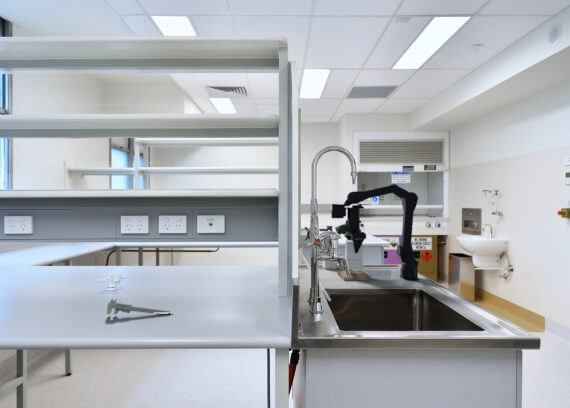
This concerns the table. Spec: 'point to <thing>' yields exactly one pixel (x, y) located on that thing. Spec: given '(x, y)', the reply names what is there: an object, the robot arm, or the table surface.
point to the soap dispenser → (326, 263)
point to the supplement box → (353, 255)
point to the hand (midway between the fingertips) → (353, 251)
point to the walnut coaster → (354, 275)
